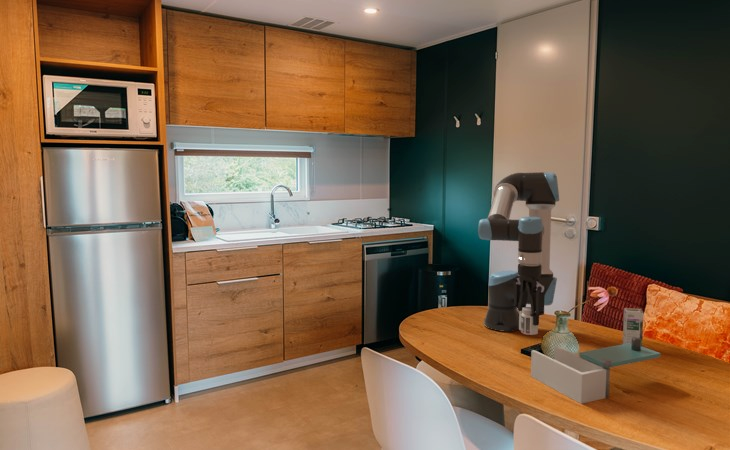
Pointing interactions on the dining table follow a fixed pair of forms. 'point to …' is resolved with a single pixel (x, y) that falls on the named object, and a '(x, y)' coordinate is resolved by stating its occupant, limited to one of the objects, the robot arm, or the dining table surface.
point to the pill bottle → (525, 320)
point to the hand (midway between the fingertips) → (528, 331)
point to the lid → (620, 354)
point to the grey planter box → (571, 375)
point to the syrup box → (632, 325)
